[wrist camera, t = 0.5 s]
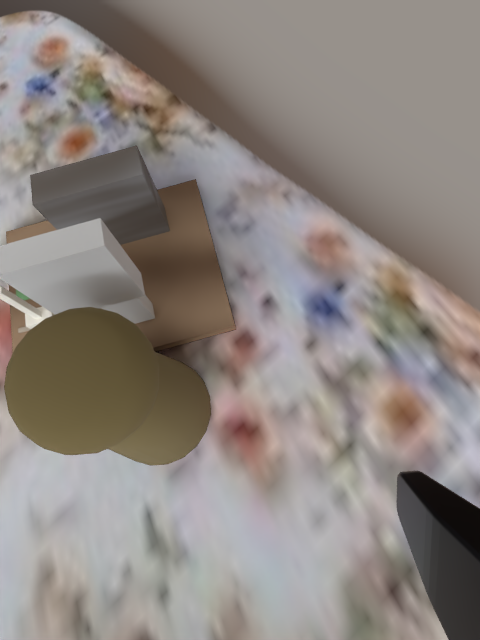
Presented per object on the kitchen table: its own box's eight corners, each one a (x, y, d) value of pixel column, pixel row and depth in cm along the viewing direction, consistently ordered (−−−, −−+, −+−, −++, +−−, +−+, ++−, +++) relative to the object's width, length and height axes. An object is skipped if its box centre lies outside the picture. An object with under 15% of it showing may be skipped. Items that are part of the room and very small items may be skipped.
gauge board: (236, 329, 24) (221, 286, 18) (22, 388, 24) (-61, 364, 18) (197, 186, 28) (175, 113, 22) (13, 238, 28) (-58, 178, 22)
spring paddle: (175, 332, 23) (104, 245, 14) (39, 369, 23) (-122, 308, 14) (168, 298, 24) (96, 196, 15) (36, 335, 24) (-118, 255, 15)
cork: (92, 392, 24) (-53, 340, 13) (180, 340, 24) (107, 251, 14) (135, 487, 22) (3, 511, 11) (230, 428, 22) (187, 399, 12)
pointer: (61, 324, 24) (13, 295, 20) (35, 331, 24) (-18, 303, 20) (59, 310, 24) (12, 277, 20) (34, 317, 24) (-19, 286, 20)
